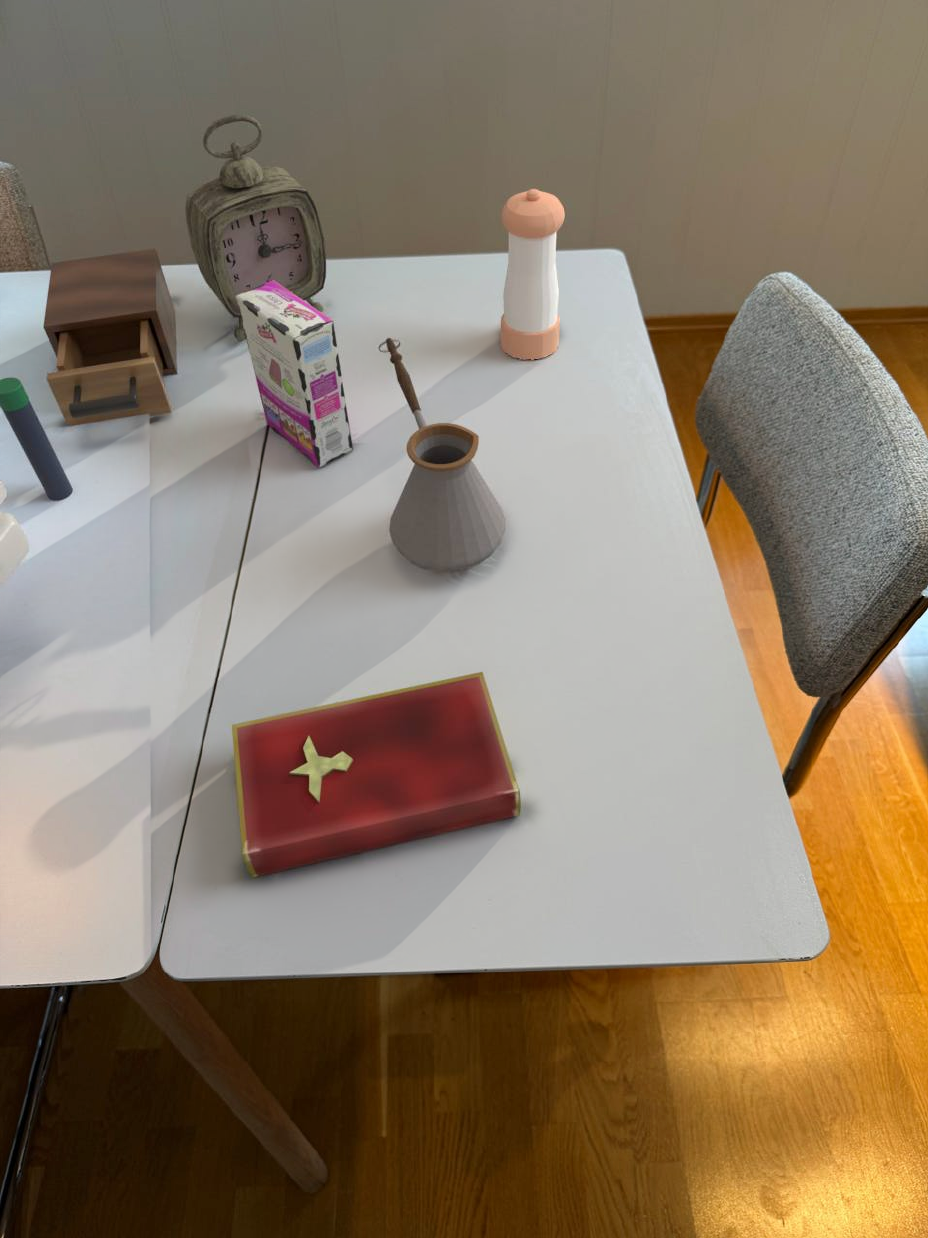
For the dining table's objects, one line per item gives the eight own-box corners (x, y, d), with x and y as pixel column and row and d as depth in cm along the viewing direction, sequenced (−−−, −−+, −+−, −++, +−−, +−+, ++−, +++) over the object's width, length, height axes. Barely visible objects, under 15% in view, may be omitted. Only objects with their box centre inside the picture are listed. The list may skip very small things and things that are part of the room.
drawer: (172, 439, 101) (154, 388, 96) (67, 457, 100) (42, 406, 95) (169, 348, 113) (153, 297, 108) (75, 362, 112) (54, 312, 106)
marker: (51, 512, 96) (-11, 396, 84) (53, 496, 97) (-8, 379, 86) (77, 508, 96) (19, 391, 85) (78, 491, 98) (21, 374, 86)
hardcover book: (520, 819, 71) (521, 793, 68) (254, 881, 68) (242, 858, 65) (483, 698, 78) (482, 669, 75) (242, 750, 76) (230, 722, 73)
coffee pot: (523, 567, 88) (526, 447, 77) (413, 601, 86) (399, 482, 74) (448, 439, 101) (441, 320, 90) (351, 465, 99) (330, 347, 87)
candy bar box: (356, 450, 101) (336, 319, 88) (320, 470, 99) (293, 339, 86) (300, 405, 106) (273, 276, 94) (264, 423, 104) (232, 294, 92)
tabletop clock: (233, 351, 114) (177, 145, 95) (208, 318, 119) (151, 116, 100) (336, 316, 118) (303, 113, 99) (308, 286, 123) (272, 87, 104)
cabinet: (177, 374, 111) (156, 309, 104) (71, 390, 110) (43, 326, 103) (175, 310, 120) (155, 247, 114) (77, 325, 119) (51, 262, 112)
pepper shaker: (489, 350, 112) (487, 196, 97) (518, 321, 116) (521, 169, 101) (541, 367, 109) (547, 212, 95) (569, 337, 113) (578, 183, 99)
